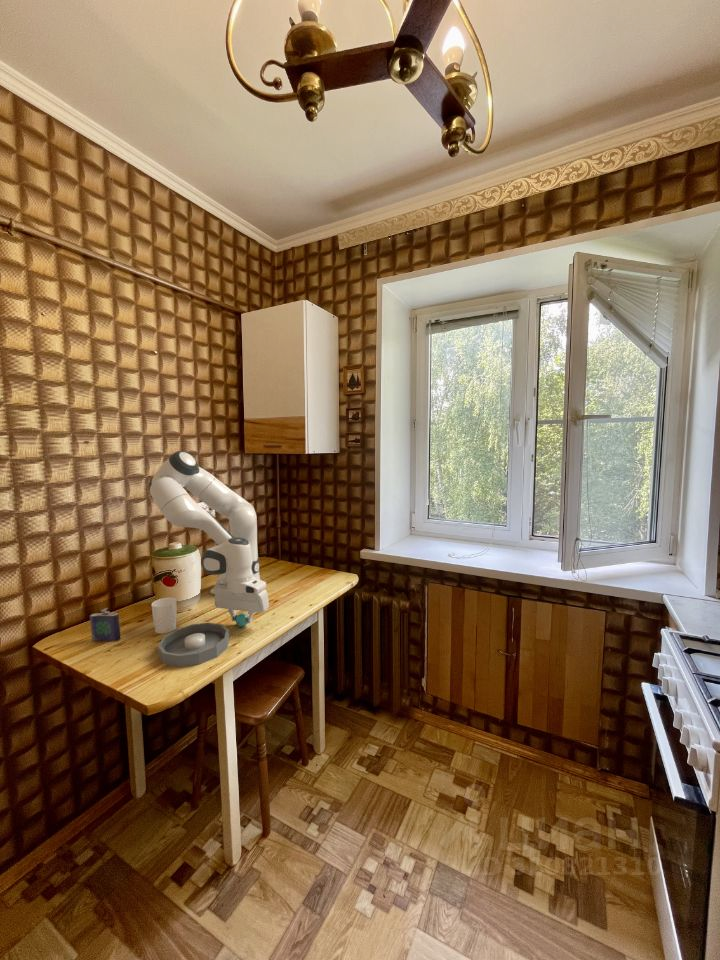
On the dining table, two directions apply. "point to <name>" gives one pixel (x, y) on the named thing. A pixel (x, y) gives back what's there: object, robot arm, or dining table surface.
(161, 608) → the white cup
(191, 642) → the ring tray
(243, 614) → the bead
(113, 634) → the flask
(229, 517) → the robot arm
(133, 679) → the dining table surface
